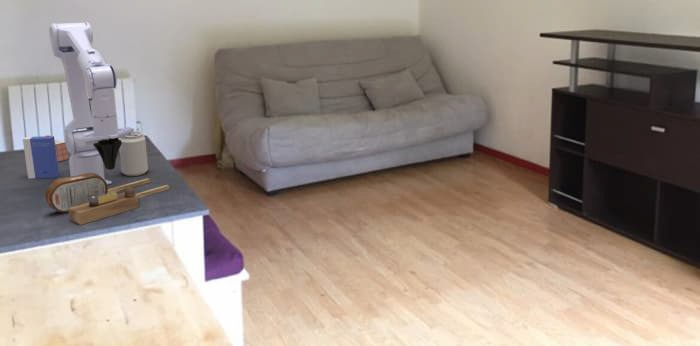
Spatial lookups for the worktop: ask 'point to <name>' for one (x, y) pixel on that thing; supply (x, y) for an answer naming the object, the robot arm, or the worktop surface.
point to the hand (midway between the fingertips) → (110, 168)
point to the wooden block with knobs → (104, 208)
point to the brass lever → (101, 198)
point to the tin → (74, 191)
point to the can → (133, 155)
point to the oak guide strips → (138, 185)
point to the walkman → (41, 157)
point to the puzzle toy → (61, 150)
